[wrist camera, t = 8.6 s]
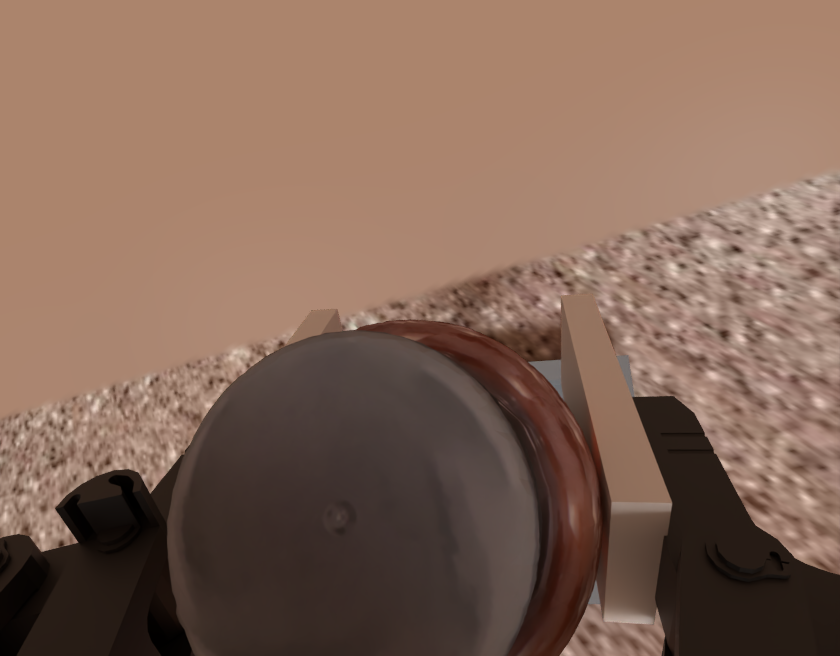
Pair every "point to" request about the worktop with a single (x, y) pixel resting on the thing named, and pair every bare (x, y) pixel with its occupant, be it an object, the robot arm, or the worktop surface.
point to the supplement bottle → (386, 503)
